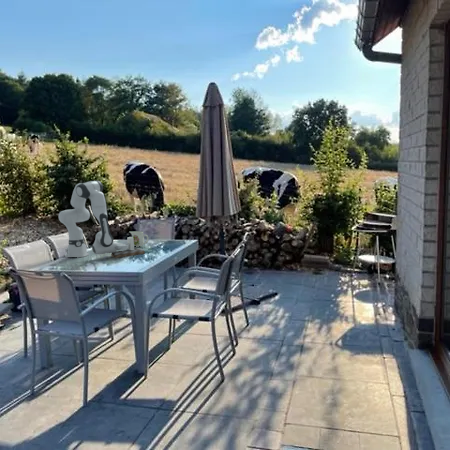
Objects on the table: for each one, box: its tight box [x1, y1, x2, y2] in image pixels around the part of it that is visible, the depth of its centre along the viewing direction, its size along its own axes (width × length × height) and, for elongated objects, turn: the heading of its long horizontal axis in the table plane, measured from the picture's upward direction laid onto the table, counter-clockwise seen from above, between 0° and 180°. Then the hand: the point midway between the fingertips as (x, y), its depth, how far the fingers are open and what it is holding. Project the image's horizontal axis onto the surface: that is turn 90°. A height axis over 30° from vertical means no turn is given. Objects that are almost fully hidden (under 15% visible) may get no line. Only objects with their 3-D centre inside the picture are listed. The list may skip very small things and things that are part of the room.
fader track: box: [110, 247, 145, 259], centre depth 383 cm, size 25×10×4 cm, turn 124°
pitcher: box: [129, 230, 149, 248], centre depth 423 cm, size 11×18×14 cm, turn 79°
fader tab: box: [126, 236, 135, 251], centre depth 384 cm, size 4×6×12 cm, turn 34°
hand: (129, 245), depth 383 cm, fingers closed, pressing on fader tab
